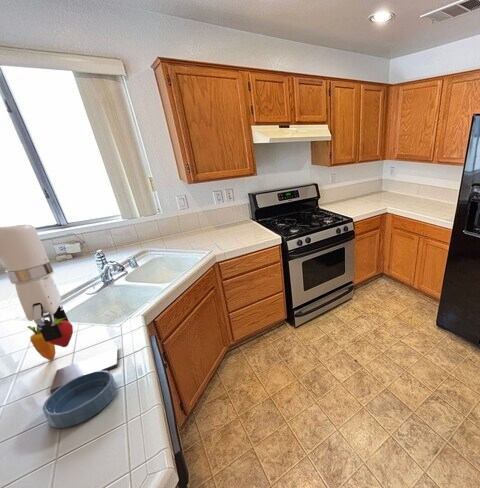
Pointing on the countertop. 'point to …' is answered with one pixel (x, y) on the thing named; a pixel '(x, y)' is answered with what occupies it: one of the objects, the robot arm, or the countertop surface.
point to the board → (85, 368)
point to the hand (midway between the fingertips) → (57, 330)
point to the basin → (80, 399)
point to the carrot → (42, 344)
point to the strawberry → (63, 333)
